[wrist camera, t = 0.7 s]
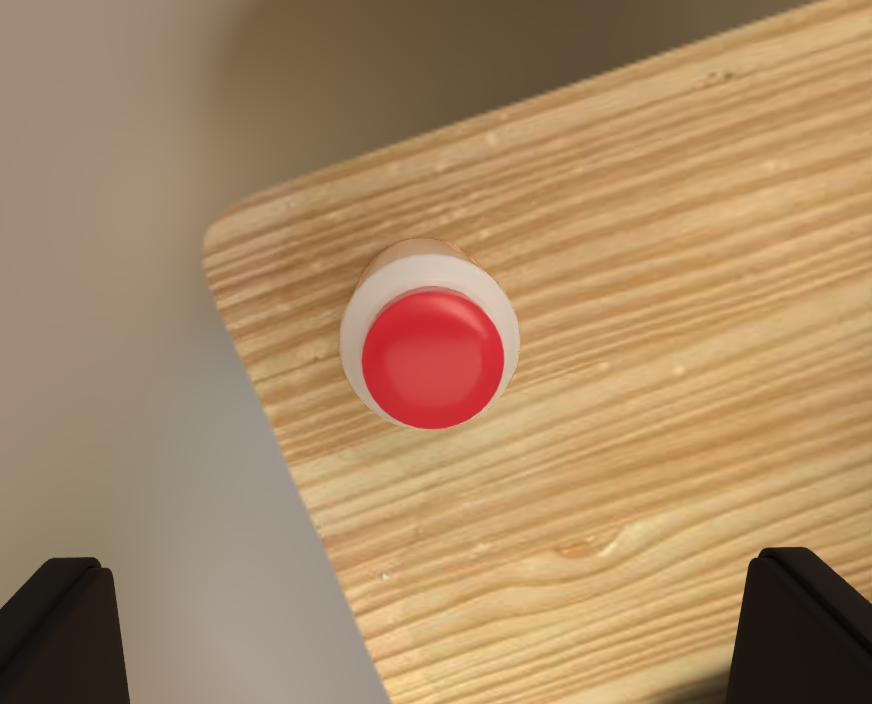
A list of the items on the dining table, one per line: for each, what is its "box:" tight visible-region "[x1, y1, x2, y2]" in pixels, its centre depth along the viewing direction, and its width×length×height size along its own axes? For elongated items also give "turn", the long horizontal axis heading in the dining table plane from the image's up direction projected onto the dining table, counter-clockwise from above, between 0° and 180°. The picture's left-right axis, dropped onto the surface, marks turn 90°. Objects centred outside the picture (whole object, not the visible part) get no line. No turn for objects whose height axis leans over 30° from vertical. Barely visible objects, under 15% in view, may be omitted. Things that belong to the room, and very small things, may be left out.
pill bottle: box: [339, 238, 520, 431], centre depth 22 cm, size 6×6×8 cm
